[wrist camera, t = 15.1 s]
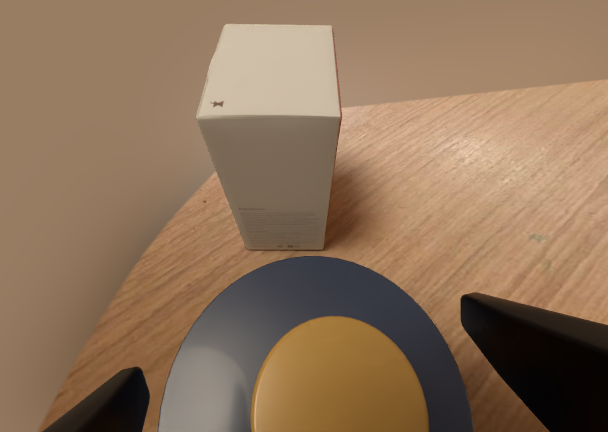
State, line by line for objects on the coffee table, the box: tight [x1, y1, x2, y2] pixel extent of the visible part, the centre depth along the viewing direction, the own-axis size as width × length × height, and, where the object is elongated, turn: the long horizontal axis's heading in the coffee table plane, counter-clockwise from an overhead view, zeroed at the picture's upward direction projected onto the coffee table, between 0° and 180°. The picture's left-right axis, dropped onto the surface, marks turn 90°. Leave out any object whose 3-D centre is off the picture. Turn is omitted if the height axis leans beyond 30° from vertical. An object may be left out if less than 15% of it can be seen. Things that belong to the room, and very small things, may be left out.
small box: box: [196, 24, 342, 250], centre depth 19 cm, size 8×6×13 cm
